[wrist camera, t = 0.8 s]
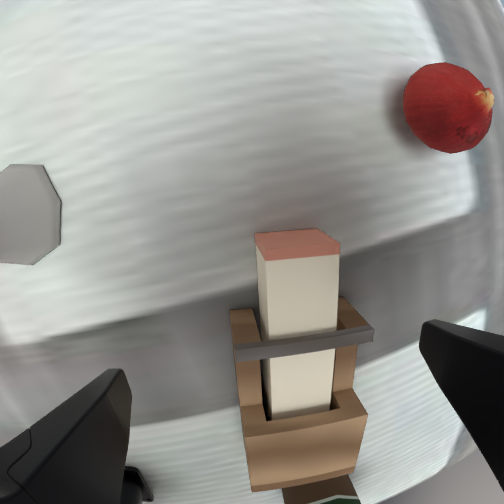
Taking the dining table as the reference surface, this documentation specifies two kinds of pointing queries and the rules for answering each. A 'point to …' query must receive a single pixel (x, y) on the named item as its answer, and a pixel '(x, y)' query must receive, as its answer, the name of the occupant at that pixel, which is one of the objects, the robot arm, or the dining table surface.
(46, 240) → the flask
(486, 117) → the onion
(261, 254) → the pink-topped cream pillar
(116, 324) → the dining table surface
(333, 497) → the beer bottle
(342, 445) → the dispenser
